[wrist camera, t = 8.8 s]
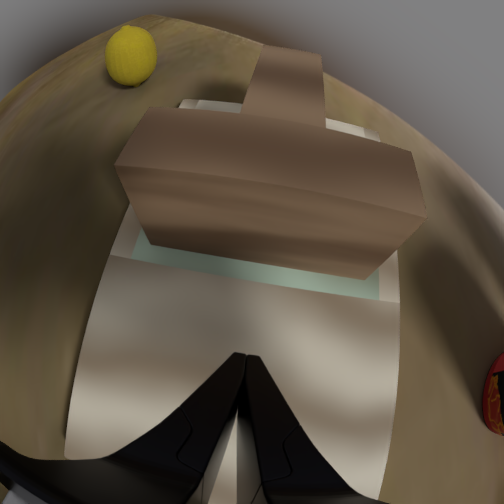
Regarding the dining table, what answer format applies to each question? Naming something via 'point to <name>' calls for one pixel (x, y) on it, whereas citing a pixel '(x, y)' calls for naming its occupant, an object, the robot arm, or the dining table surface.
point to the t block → (272, 178)
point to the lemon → (130, 56)
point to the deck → (239, 347)
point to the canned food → (495, 397)
